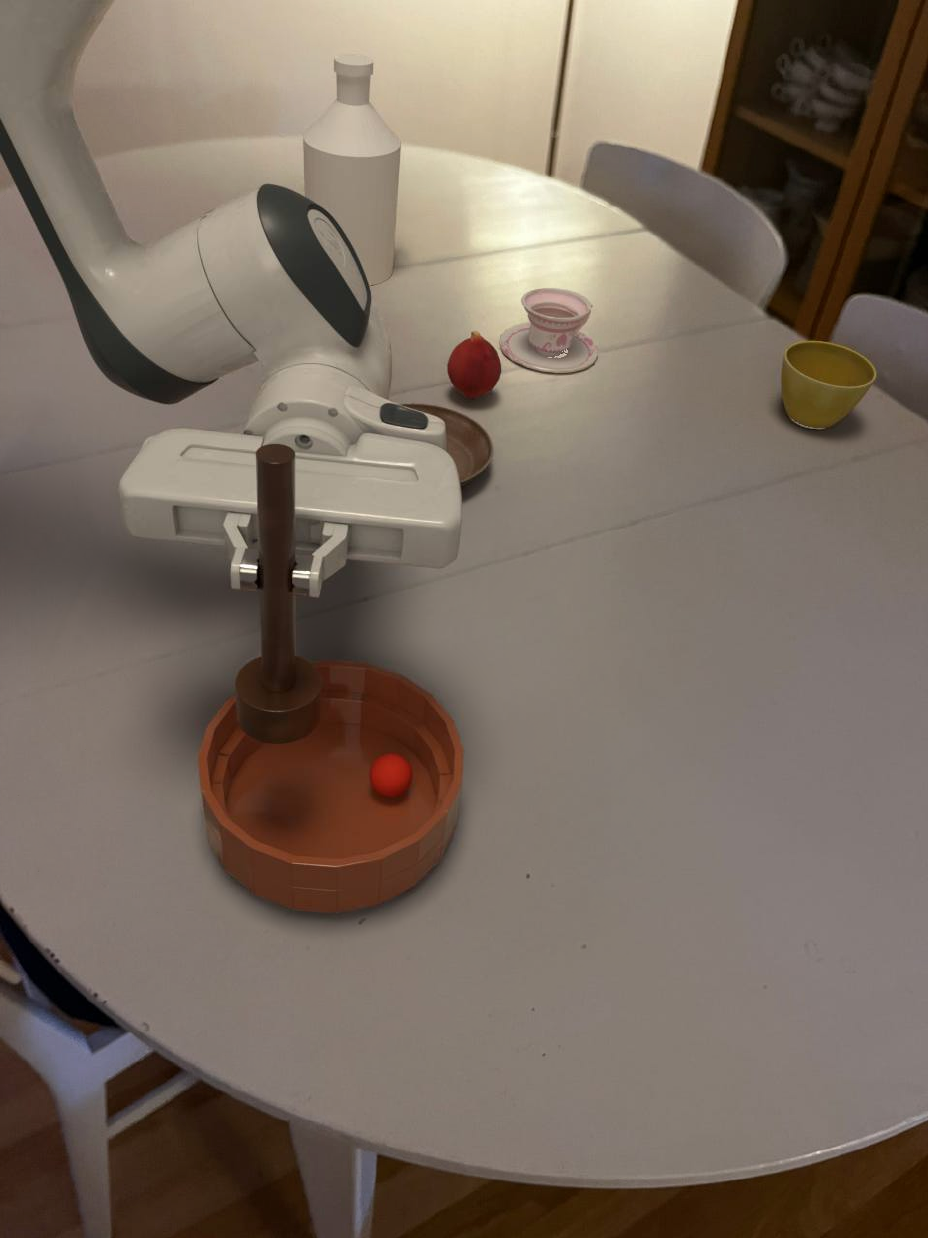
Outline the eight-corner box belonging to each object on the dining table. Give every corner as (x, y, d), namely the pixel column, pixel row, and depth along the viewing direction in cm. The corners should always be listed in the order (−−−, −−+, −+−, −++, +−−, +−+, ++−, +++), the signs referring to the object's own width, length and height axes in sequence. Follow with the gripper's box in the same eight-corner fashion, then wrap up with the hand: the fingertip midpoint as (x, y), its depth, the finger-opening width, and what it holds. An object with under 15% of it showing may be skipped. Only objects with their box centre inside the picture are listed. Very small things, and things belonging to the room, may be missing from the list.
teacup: (526, 381, 117) (534, 331, 113) (482, 332, 125) (488, 284, 121) (615, 367, 122) (626, 319, 117) (568, 321, 129) (576, 274, 125)
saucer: (349, 510, 96) (350, 487, 94) (339, 425, 107) (339, 402, 105) (502, 507, 99) (505, 484, 97) (477, 424, 110) (479, 402, 108)
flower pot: (857, 450, 113) (881, 393, 108) (766, 433, 114) (785, 376, 109) (850, 405, 120) (872, 350, 116) (764, 389, 121) (783, 333, 116)
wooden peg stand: (226, 737, 62) (209, 471, 50) (250, 680, 66) (240, 421, 54) (310, 750, 62) (313, 487, 50) (329, 692, 66) (336, 436, 54)
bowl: (179, 907, 65) (169, 853, 60) (233, 706, 77) (228, 650, 73) (449, 929, 65) (457, 877, 61) (459, 726, 78) (467, 672, 74)
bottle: (309, 287, 129) (307, 72, 112) (300, 248, 138) (297, 42, 121) (401, 287, 132) (412, 77, 115) (387, 248, 140) (396, 46, 123)
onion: (491, 384, 116) (499, 319, 111) (501, 411, 112) (510, 345, 106) (441, 384, 115) (447, 318, 110) (449, 412, 111) (455, 344, 105)
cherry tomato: (356, 790, 70) (374, 754, 69) (370, 774, 73) (387, 739, 72) (394, 811, 70) (412, 776, 69) (406, 794, 73) (424, 760, 72)
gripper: (146, 386, 64) (76, 519, 54) (469, 421, 65) (461, 559, 55) (156, 469, 68) (93, 607, 58) (460, 501, 69) (450, 643, 59)
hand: (275, 584), depth 56 cm, fingers closed on wooden peg stand
